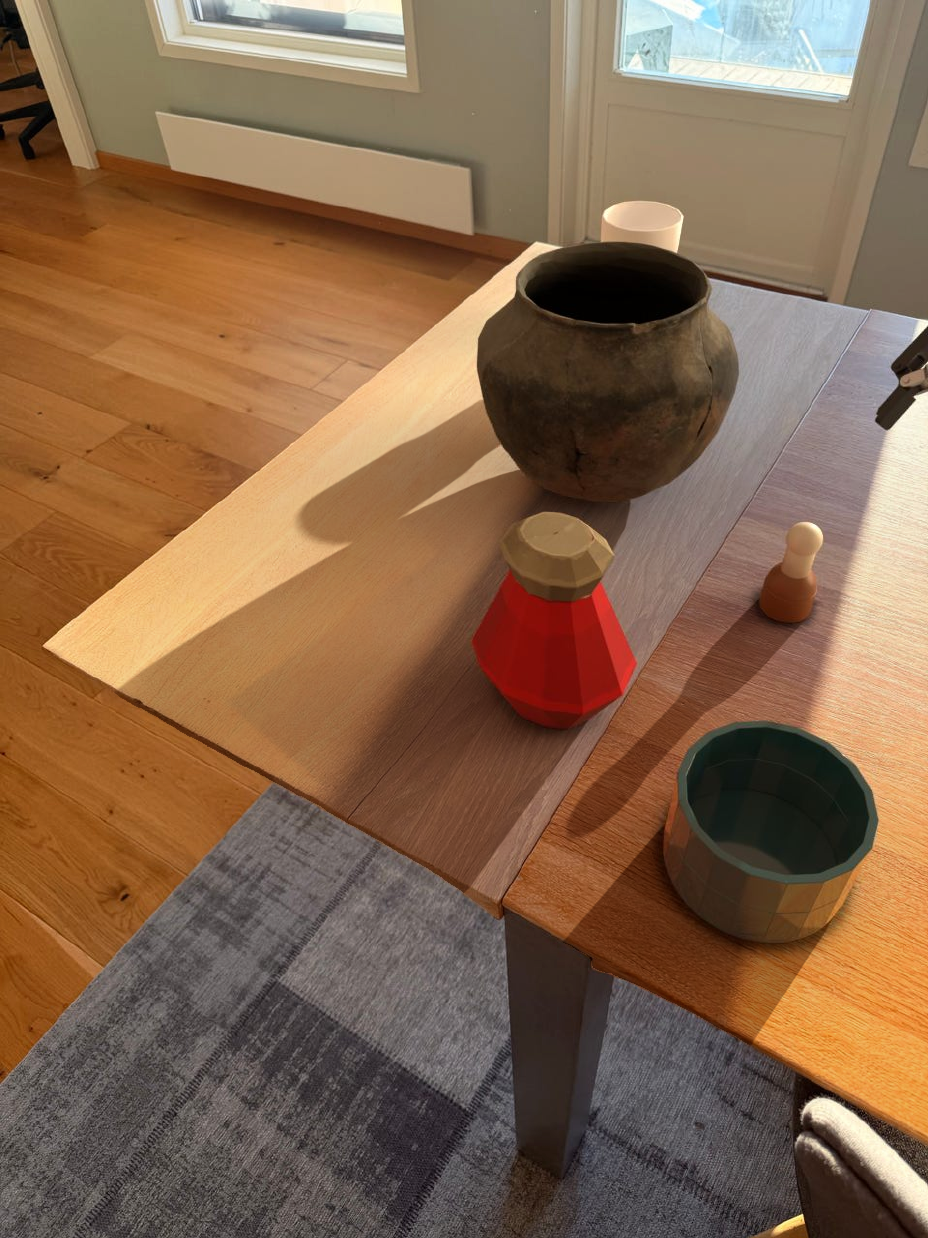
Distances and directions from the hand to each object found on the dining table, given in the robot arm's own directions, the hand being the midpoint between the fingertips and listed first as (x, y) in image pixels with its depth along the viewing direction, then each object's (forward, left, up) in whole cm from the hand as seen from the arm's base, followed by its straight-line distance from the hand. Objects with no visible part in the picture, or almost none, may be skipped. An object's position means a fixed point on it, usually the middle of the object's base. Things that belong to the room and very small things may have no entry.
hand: (913, 449), depth 84 cm
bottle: (+24, +28, -18) cm, 41 cm away
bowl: (+2, +37, -18) cm, 41 cm away
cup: (+42, -45, -18) cm, 64 cm away
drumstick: (+7, +6, -18) cm, 20 cm away
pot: (+33, -7, -18) cm, 38 cm away
